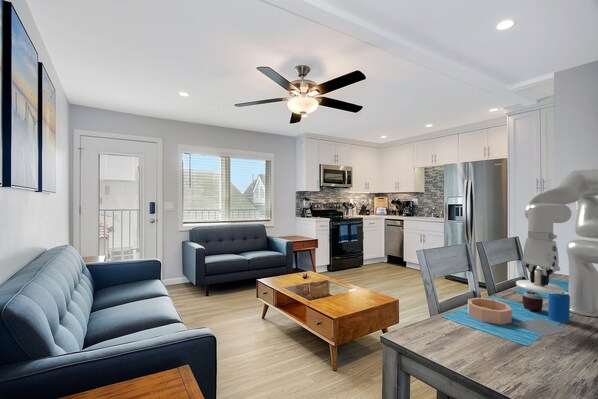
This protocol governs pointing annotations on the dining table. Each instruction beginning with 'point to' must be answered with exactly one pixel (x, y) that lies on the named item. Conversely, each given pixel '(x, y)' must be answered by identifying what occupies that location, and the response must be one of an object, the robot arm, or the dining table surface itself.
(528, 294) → the mate gourd
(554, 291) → the lid
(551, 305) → the beverage can
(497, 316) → the octagonal ring frame
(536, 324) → the mat
